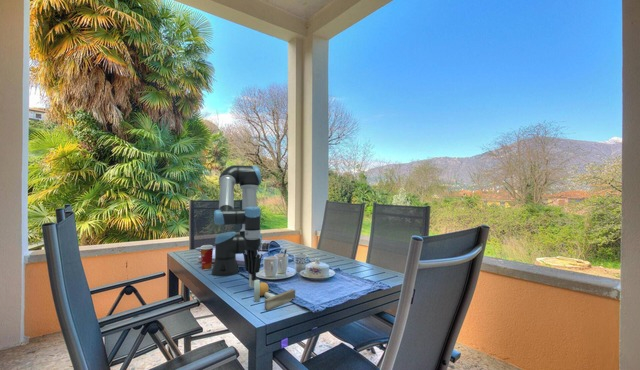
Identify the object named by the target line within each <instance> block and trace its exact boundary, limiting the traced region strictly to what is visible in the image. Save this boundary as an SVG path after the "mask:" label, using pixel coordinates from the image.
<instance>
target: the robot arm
mask: <svg viewBox="0 0 640 370" xmlns="http://www.w3.org/2000/svg"><path fill="white" fill-rule="evenodd" d="M218 184H219V186H220V187H219V188H220V189H219V198H218V199H219V201H218V209H215V210H214V211H213V222H214V225H219V226H225V225H226V226H228V225H242V227H241V229H240V230H239V233H238V234H237V232H236V231H226V232H222V233H219V234H217V235H216V236H215V238H214V239H215V241H214V244H215V246H214V247H215V249H214V250H215V251H214V252H215V253H214V262H213V264H212V268H211V275H213V276H216V277H227V276H232V275H236V274H238V273H239V272H238V271H240V270H239V269H240V267H239V263H238V260H237V256H236V255H240V254H241V255H242V256H243V260H244V267H245V271H246V272H247V273H248V288H254V280H257V274H258V273H259V272H260V270H261V263H262V258H263V256H264V255H263V253H260V250H261V248H262V239H263V238H262V237H263V234H262V233H261V213H262V212H261V207H260V206H257V198H258V197H257V190H258V188H260V185H261V184H262V176H261V169H260V168H259V166H257V165H237V164H234V165H231V166H228V167H226V168H224V170H223V171H222V172H221V173H220V175H219V178H218ZM235 185H239V188H240V189H241V191H242V192H241V194H242V200H241V201H242V203H241V204H242V205H241V206H242V208H241V209H234V208H235V207H234V206H235V200H234V198H235Z"/></svg>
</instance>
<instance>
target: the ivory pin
mask: <svg viewBox="0 0 640 370" xmlns="http://www.w3.org/2000/svg"><path fill="white" fill-rule="evenodd" d="M276 295H277V294H276ZM276 295H275V294H273V293H270V292H269V291H268V292H266V293H265V294H264V298H265V299H268V298H270V297H273V296H276Z"/></svg>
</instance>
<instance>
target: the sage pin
mask: <svg viewBox="0 0 640 370" xmlns="http://www.w3.org/2000/svg"><path fill="white" fill-rule="evenodd" d="M260 283H261V280H260V279H256V280H254V287H253V289H254V290H253V295H254V297H253V301H254V302H255V303H258V302H260V301H261V299H260V298H261V297H260Z"/></svg>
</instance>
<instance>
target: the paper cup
mask: <svg viewBox="0 0 640 370" xmlns="http://www.w3.org/2000/svg"><path fill="white" fill-rule="evenodd" d="M199 249H200V261H201V262H200V263H201V270H203V269H208V270H212V268H213V252H214V246H213V245H212V244H203V245H201V246H200V247H199Z"/></svg>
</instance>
